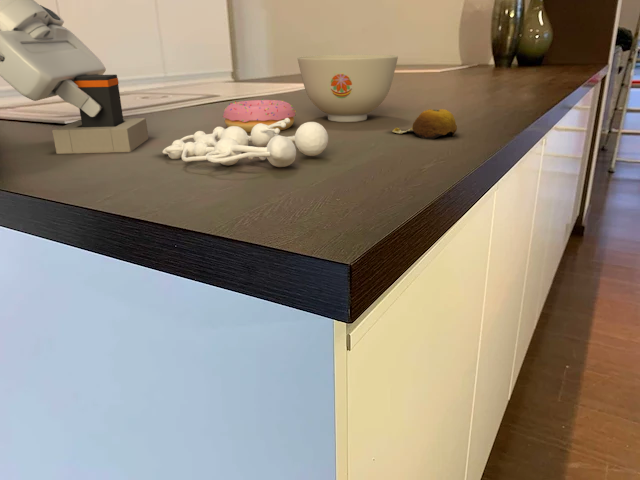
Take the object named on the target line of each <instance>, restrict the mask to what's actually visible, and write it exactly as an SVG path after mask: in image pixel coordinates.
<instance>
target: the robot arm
mask: <svg viewBox="0 0 640 480" xmlns="http://www.w3.org/2000/svg"><path fill="white" fill-rule="evenodd" d="M64 23H65V20H64V19H63V18H62V17H61V16H60V15H59V14H57V13H56V12H55V11H53V10H52V9H49V8H47V7H45V6H43V5H41V4H39V3H38V2H37V1H35V0H0V78H2V79H3V80H4V81H5V82H6V83H7V84H8V85H10V86H11V87H12V88H13V89H14V90H15V91H17V92H18V93H19V94H20V95H22V96H23V97H25V98H27V99H29V100H31V101H33V102H38V101H41V100H45V99H49V98H53V97H56V96H58V97H59V98H60V99H62V100H63V101H64V102H66V103H68V104H70V105H72V106H74V107H75V108H78V109H79V108H80V109H82V110H83V111H84V112H85V113H86V114H88V115H89V116H90V117H94V116H97V115H98V114H99V113H100V112H101V111H102V110H103V105H102V104H101V103H100V102H99V101H98V100H97V99H95V98H94V97H90V96H89V95H87V94H86V93H85V92H83V91H82V90H81V89H79V88H78V85H76V84H75V83H74V78H75V77H80V76H85V75H105V73H106V69H107V68H106V67H105V65H104V63H103V61H101V59H100V58H99V57H98V56H97V55H96V54H95V53H94V52H93V51H92V49H90V48H89V47H88V46H87V45H86V44H85V43H84V42H83V41H82V40H80V39H79V37H77V35H75V33H73V32H72V31H71V30H69V29H68V28H67V27H65V26H63V25H64Z"/></svg>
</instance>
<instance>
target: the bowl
mask: <svg viewBox="0 0 640 480" xmlns="http://www.w3.org/2000/svg"><path fill="white" fill-rule="evenodd" d="M398 59H399V56H398V55H394V54H331V55H330V54H328V55H327V54H326V55H306V56H305V55H304V56H298V57H297V63H298V68H299V71H300V76H301V79H302V83H303V87H304V90H305V93H306V95H307V97H308V99H309V100H310V101H311V102H312V104H313V105H314V106H315V107H316V108H317V109H319V110H320V111H322V112H323V113H325V114H327V120H328V121H329V122H335V123H337V122H338V123H356V122H363V121H366V120H368V114H369V113H370V112H372V111H374V110H376V109H377V108H378V107H379V106H380V105H381V104H382V103H383V102H384V101H385V100H386V98H387V96H388V94H389V92H390V89H391V86H392V83H393V80H394V75H395V72H396V67H397V64H398Z"/></svg>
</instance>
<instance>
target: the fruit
mask: <svg viewBox="0 0 640 480" xmlns="http://www.w3.org/2000/svg"><path fill="white" fill-rule="evenodd" d="M457 130H458V126H457V123H456V119H455V116H454V115H453V114H452V112H451V111H450V110H447V109H445V108H440V109H432V108H429V109H426V110H423V111H422V112H421V113H420V114H419V115H418V116H417V117H416V119H415V120H414V121H413V123H412V127H410V128H408V129H407V130H402V129H400V127H395V128H393V130H391V131H392V133H396V134H400V135H401V134H405V133H408V132H410V131H412V132H413V133H414V134H415V135H416V136H417V137H419V138H421V139H423V140H435V139H436V138H438V137H440V136H445V135H452V136H455V134H456V132H457Z"/></svg>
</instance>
